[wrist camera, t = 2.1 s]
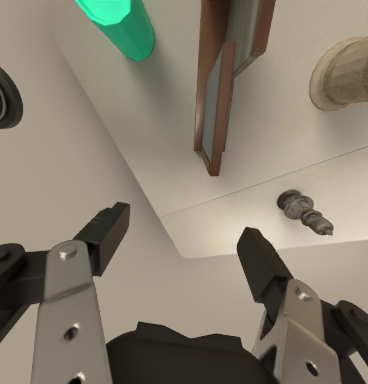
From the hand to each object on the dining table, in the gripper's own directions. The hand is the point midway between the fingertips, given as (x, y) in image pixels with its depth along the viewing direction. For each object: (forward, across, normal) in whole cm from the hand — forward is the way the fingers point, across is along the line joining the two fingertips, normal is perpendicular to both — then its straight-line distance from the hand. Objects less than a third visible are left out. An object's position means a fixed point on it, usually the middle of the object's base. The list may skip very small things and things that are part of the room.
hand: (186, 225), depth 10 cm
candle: (+24, -12, +16) cm, 31 cm away
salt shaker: (+24, +25, -5) cm, 35 cm away
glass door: (+22, +2, +7) cm, 23 cm away
